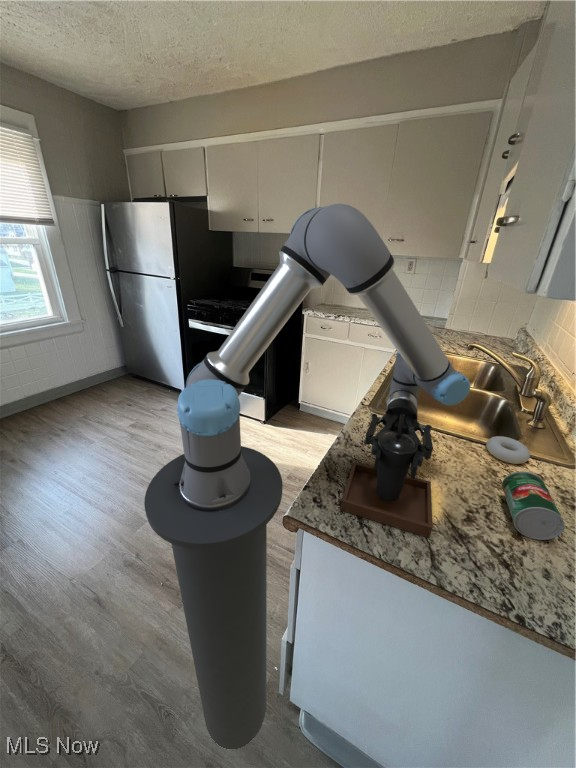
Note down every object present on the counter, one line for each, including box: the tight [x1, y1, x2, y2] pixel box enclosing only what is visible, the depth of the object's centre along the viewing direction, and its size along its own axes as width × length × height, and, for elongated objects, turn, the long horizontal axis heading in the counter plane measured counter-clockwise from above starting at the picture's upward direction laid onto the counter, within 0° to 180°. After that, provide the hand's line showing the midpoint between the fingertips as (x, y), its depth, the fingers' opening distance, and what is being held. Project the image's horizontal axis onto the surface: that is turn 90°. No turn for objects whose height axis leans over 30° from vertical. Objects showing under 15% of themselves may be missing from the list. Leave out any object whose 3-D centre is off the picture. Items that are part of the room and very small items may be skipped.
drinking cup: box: [377, 413, 418, 501], centre depth 64 cm, size 8×8×20 cm
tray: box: [340, 461, 433, 539], centre depth 69 cm, size 18×14×3 cm
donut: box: [485, 435, 531, 465], centre depth 85 cm, size 10×4×10 cm
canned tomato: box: [501, 471, 566, 541], centre depth 64 cm, size 8×8×11 cm
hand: (394, 468), depth 60 cm, fingers closed on drinking cup, 6 cm apart
